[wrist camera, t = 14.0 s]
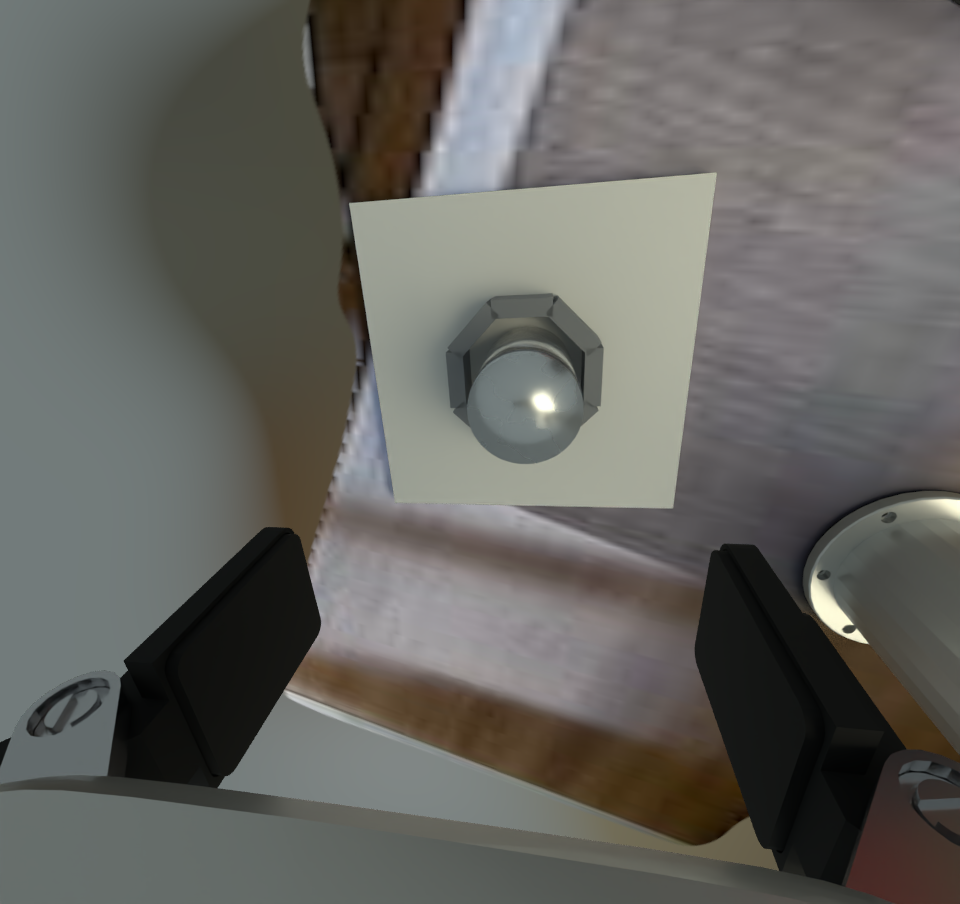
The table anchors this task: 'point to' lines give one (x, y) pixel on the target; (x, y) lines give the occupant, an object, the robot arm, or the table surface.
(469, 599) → the table surface
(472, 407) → the piston
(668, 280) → the holder
